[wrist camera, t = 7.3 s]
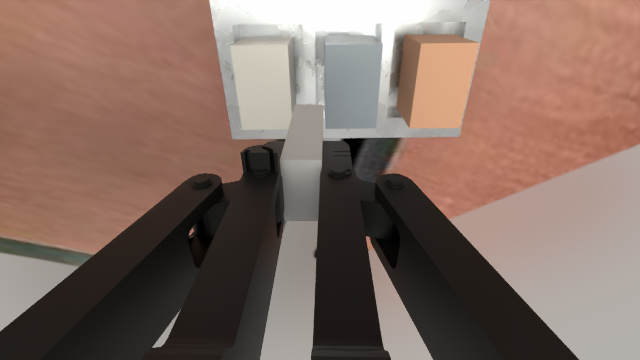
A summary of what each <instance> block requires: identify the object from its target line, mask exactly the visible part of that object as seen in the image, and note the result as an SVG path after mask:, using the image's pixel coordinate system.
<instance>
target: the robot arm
mask: <svg viewBox="0 0 640 360" xmlns="http://www.w3.org/2000/svg"><path fill="white" fill-rule="evenodd" d="M241 159H242V166H243V175H242V177H241V179H240V180H239V181H235V182H230V183H224V184H222V182H221V178H220V177H219V176H218V175H214V174H206V173H205V174H198V175H196V176H193V177H191V178H189V179H187V180H186V181H185V182H183V183H182V184H181V185H180V186H178V187H177V188H176V189H175V190H174V191H172V192H171V193H170V194H169V195H167V196H166V197H165V198H164V199H163V200H161V201H160V202H159V203H158V204H156V205H155V206H154V207H153V208H151V209H150V210H149V211H148V212H147V213H145V214H144V215H143V216H142V217H140V218H139V219H138V220H137V221H135V222H134V223H133V224H132V225H131V226H129V227H128V228H127V229H126V230H124V231H123V232H122V233H121V234H120V235H118V236H117V237H116V238H115V239H113V240H112V241H111V242H110V243H108V244H107V245H106V246H105V247H104V248H102V249H101V250H100V251H99V252H97V253H96V254H95V255H94V256H92V257H91V258H90V259H89V260H88V261H86V262H85V263H84V264H83V265H81V266H80V267H79V268H78V269H76V270H75V271H74V272H73V273H72V274H70V275H69V276H68V277H67V278H65V279H64V280H63V281H62V282H61V283H59V284H58V285H57V286H56V287H55V288H53V289H52V290H51V291H50V292H48V293H47V294H46V295H45V296H43V297H42V298H41V299H40V300H38V301H37V302H36V303H35V304H34V305H32V306H31V307H30V308H29V309H27V310H26V311H25V312H24V313H22V314H21V315H20V316H19V317H18V318H16V319H15V320H14V321H13V322H11V323H10V324H9V325H8V326H6V327H5V328H4V329H3V330H2V331H0V360H260V355H261V349H262V344H263V338H264V333H265V327H266V322H267V316H268V311H269V305H270V300H271V294H272V288H273V283H274V277H275V271H276V266H277V260H278V255H279V250H280V244H281V239H282V233H283V219H282V218H283V213H284V221H318V236H317V260H316V284H315V308H314V333H313V349H312V354H311V360H391V358H390V355H389V353H388V351H385V350H384V347H383V343H382V337H381V331H380V325H379V319H378V312H377V306H376V299H375V293H374V286H373V280H372V273H371V267H370V261H369V254H368V248H367V241H366V236H369V237H370V240H371V244H372V246H373V248H374V249H375V251H376V253H377V255H378V257H379V259H380V261H381V262H382V264H383V266H384V268H385V270H386V272H387V274H388V276H389V278H390V279H391V281H392V283H393V285H394V287H395V289H396V291H397V292H398V294H399V296H400V298H401V300H402V302H403V304H404V306H405V308H406V309H407V311H408V313H409V315H410V317H411V319H412V321H413V322H414V324H415V326H416V328H417V330H418V332H419V334H420V336H421V337H422V339H423V341H424V343H425V344H426V347H427V349H428V350H429V352H430V354H431V356H432V358H433V360H579V359H578V358H577V357H576V356H575V355H574V354H573V353H572V352H571V350H570V349H569V348H568V347H567V346H566V345H565V344H564V343H563V342H562V341H561V340H560V339H559V338H558V337H557V335H556V334H555V333H554V332H553V331H552V330H551V329H550V328H549V327H548V326H547V325H546V324H545V323H544V322H543V320H541V318H540V317H539V316H538V315H537V314H536V313H535V312H534V311H533V310H532V309H531V308H530V307H529V305H528V304H527V303H526V302H525V301H524V300H523V299H522V298H521V297H520V296H519V295H518V294H517V293H516V292H515V291H514V289H513V288H512V287H511V286H510V285H509V284H508V283H507V282H506V281H505V280H504V279H503V278H502V276H501V275H500V274H499V273H498V272H497V271H496V270H495V269H494V268H493V267H492V266H491V265H490V264H489V262H488V261H487V260H486V259H485V258H484V257H483V256H482V255H481V254H480V253H479V252H478V251H477V250H476V249H475V248H474V246H472V244H471V243H470V242H469V241H468V240H467V239H466V238H465V237H464V236H463V235H462V234H461V233H460V231H459V230H458V229H457V228H456V227H455V226H454V225H453V224H452V223H451V222H450V221H449V220H448V219H447V217H446V216H445V215H444V214H443V213H442V212H441V211H440V210H439V209H438V208H437V207H436V206H435V205H434V203H433V202H432V201H431V200H430V199H429V198H428V197H427V196H426V195H425V194H424V193H423V192H422V191H421V190H420V188H419V187H418V186H417V185H416V184H415V183H414V182H413V181H412V180H411V179H409V178H408V177H405V176H403V175H400V174H385V175H381V176H380V177H378V178H377V180H376V183H372V182H367V181H364V180H361V179H359V178H358V177H356V173H355V171H354V170H353V168H352V161H351V155H350V148H349V145H348V144H347V143H346V142H344V141H323V105H311V104H295V108H294V111H293V115H292V118H291V122H290V125H289V129H288V133H287V136H286V140H285V142H267V143H266V144H265V145H258V146H252V147H248V148H246V149H244V150H243V151H242V152H241ZM192 227H193V229H194V232H193V233H192V234H191V235H190V236H189V232H190V230H191V229H192ZM180 309H181V311H180ZM179 311H180V313H179V315H178V317H177V319H176V321H175V324H174V326H173V328H172V330H171V332H170V335H169V337H168V339H167V340H166V342H165V344H164V345H163V346H161V347H157V348H152V347H153V345H154V344H155V343H156V341H157V340H158V339H159V337H160V336H161V335H162V333H163V332H164V331H165V329H166V328H167V327H168V325H169V324H170V323H171V321H172V320H173V319H174V317H175V316H176V315H177V313H178V312H179Z"/></svg>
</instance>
